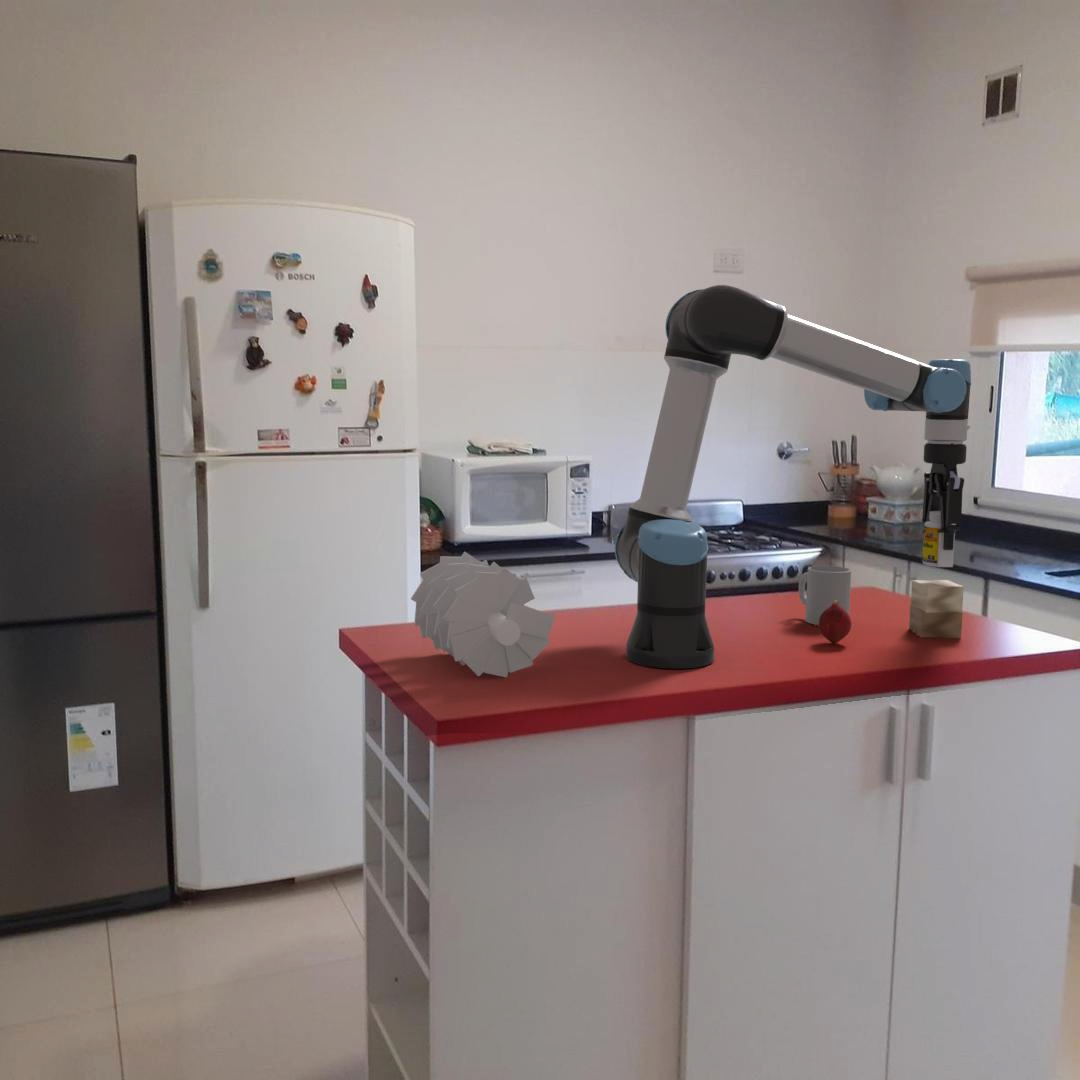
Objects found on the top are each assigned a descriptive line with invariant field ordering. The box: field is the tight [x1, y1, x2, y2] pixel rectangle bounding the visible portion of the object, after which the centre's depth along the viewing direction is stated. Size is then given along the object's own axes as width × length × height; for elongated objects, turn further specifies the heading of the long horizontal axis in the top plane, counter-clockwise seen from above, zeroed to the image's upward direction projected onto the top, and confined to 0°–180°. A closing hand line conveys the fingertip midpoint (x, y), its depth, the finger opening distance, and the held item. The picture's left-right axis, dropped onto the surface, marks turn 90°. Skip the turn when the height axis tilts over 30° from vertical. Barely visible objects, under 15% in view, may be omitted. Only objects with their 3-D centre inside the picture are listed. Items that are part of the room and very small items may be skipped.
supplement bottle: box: [921, 511, 941, 568], centre depth 209 cm, size 6×6×10 cm
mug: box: [798, 565, 852, 626], centre depth 221 cm, size 12×8×11 cm
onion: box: [818, 601, 852, 644], centre depth 201 cm, size 6×6×8 cm
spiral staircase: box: [410, 551, 556, 678], centre depth 183 cm, size 18×18×25 cm
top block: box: [910, 579, 965, 613], centre depth 210 cm, size 7×7×5 cm
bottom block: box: [908, 604, 964, 639], centre depth 211 cm, size 8×8×5 cm
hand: (938, 563), depth 209 cm, fingers closed on supplement bottle, 6 cm apart
